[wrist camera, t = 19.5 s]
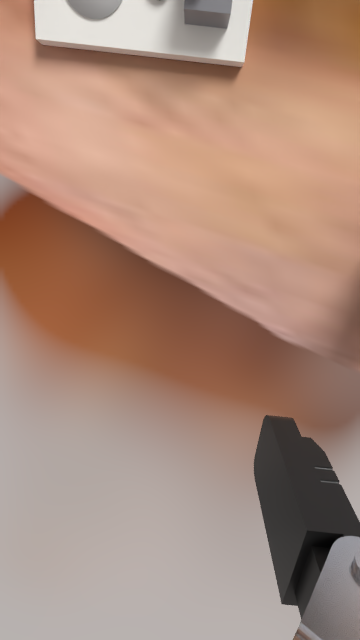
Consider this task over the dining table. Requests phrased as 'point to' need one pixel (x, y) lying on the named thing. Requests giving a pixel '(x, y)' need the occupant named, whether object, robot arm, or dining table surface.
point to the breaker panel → (149, 28)
